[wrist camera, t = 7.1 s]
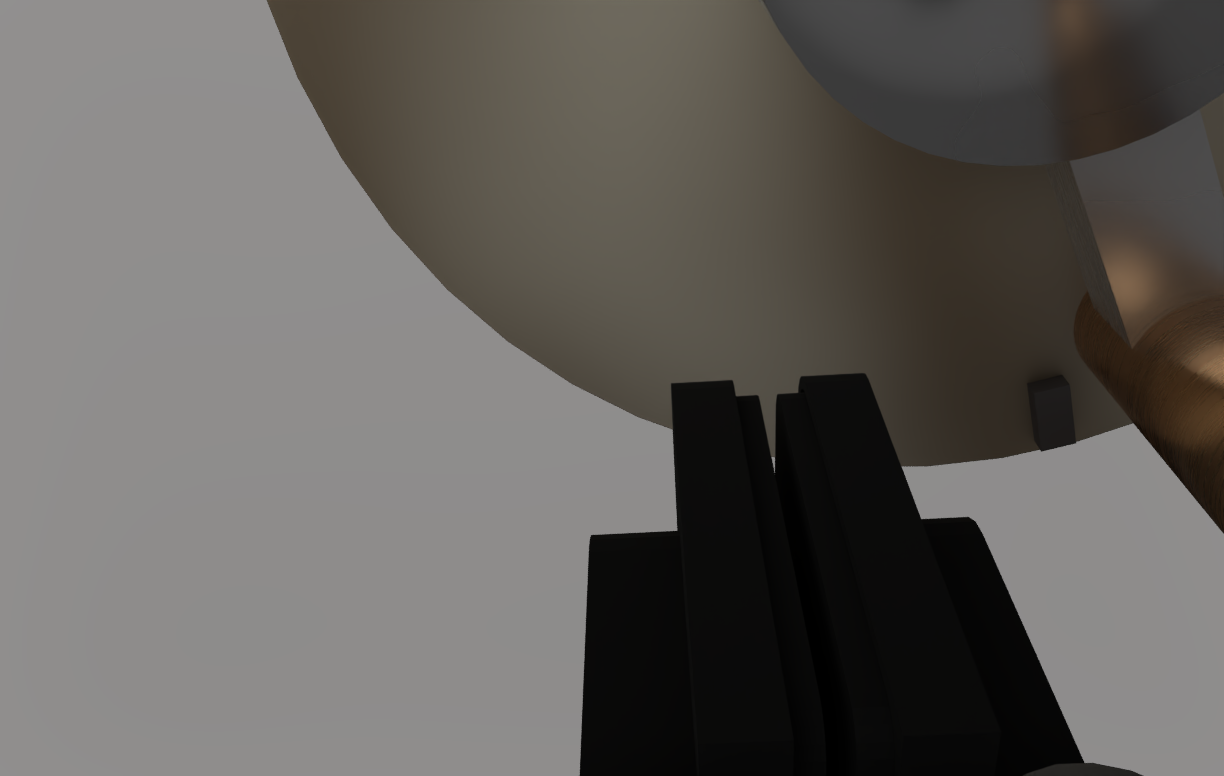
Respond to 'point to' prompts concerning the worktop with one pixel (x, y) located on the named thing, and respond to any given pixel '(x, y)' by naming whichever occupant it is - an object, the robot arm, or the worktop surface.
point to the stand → (705, 214)
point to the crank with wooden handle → (1073, 167)
